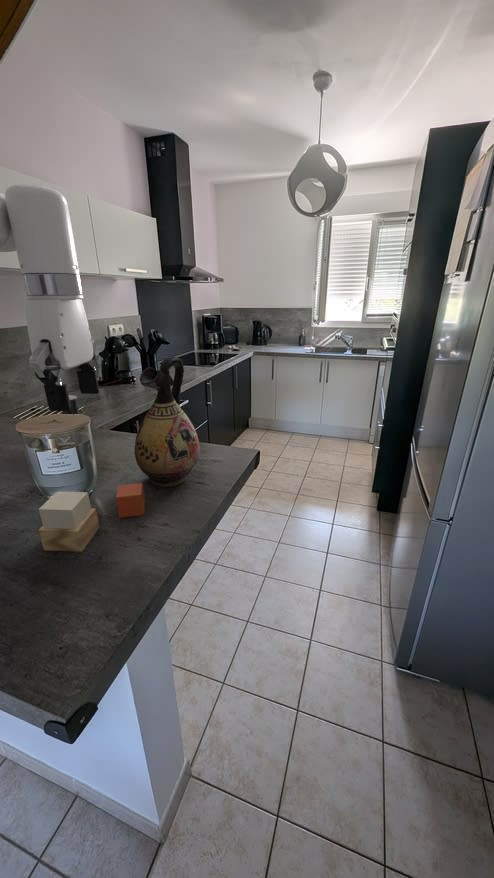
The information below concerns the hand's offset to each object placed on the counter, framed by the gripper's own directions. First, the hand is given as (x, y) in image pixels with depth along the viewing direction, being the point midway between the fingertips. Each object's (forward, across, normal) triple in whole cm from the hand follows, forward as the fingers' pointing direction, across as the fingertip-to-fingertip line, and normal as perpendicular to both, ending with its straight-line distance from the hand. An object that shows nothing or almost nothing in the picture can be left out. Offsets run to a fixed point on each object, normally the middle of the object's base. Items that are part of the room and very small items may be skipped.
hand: (76, 401), depth 59 cm
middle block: (+22, +2, -5) cm, 23 cm away
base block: (+27, +2, -5) cm, 27 cm away
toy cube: (+27, -8, +3) cm, 28 cm away
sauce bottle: (+27, -26, -17) cm, 42 cm away
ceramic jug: (+27, -24, +8) cm, 37 cm away
